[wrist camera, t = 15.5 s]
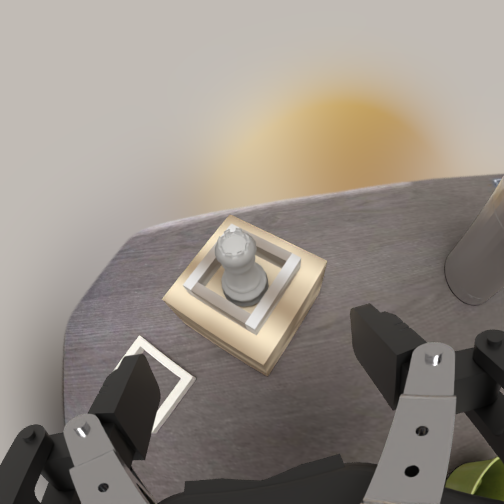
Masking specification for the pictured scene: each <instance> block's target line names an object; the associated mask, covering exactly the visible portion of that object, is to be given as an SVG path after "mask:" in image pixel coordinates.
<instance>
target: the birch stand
mask: <svg viewBox="0 0 504 504" xmlns="http://www.w3.org/2000/svg"><path fill="white" fill-rule="evenodd" d="M236 228H238V229H242V232H245V233H248V234H249V235H250V236H252V237H253V239H254V241H255V242H256V248H257V250H256V253H255V262H256V263H258V264H259V265H260V266H262V268H263V269H264V271H265V272H266V274H267V278H268V284H269V287H268V290H267V292H266V293H265V295H264V296H263V297H262V299H261V300H260V302H258V303H256V304H254V305H252V306H245V307H241V306H238V305H235V304H233V303H231V302H230V301H228V300H227V299H226V297H225V295H224V293H223V289H222V282H221V279H222V276H223V273H224V271H225V269H224V268H223V266H222V264H221V263H220V262H218V260H217V258H216V256H215V246H216V244H217V240H218V238H219V236H220V237H222V236H224V231H226V230H228V229H230V232H235V230H236ZM326 264H327V261H326V260H324V259H322V258H320V257H318V256H316V255H314V254H312V253H309V252H307V251H305V250H303V249H301V248H299V247H297V246H295V245H293V244H291V243H289V242H287V241H285V240H283V239H281V238H278V237H276V236H274V235H272V234H270V233H268V232H266V231H264V230H262V229H260V228H258V227H255V226H253V225H251V224H249V223H247V222H245V221H243V220H241V219H238V218H236V217H234V216H232V215H229V216H228V217H227V219H226V220H225V221H224V222H223V223H222V225H221V226H220V227H219V228H218V229H217V231H216V232H215V233H214V234H213V236H212V237H211V238H210V239H209V241H208V242H207V243H206V244H205V245H204V247H203V248H202V249H201V250H200V252H199V253H198V254H197V255H196V257H195V258H194V259H193V260H192V262H191V263H190V264H189V265H188V267H187V268H186V269H185V270H184V272H183V273H182V274H181V276H180V277H179V278H178V279H177V281H176V282H175V283H174V285H173V286H172V287H171V288H170V290H169V291H168V292H167V294H166V295H165V296H164V297H163V301H164V302H165V303H166V304H167V305H168V306H169V307H170V308H171V309H172V310H173V311H174V313H175V314H176V315H177V316H178V317H179V318H180V319H181V320H182V321H183V322H184V323H185V324H186V325H188V326H189V327H190V328H192V329H193V330H195V331H196V332H198V333H199V334H201V335H202V336H204V337H205V338H207V339H208V340H210V341H211V342H213V343H214V344H216V345H217V346H219V347H220V348H222V349H223V350H225V351H227V352H228V353H230V354H231V355H233V356H234V357H236V358H238V359H239V360H241V361H242V362H244V363H246V364H247V365H249V366H251V367H252V368H254V369H256V370H257V371H259V372H260V373H262V374H264V375H266V376H267V377H268V375H269V374H270V372H271V371H272V369H273V368H274V366H275V365H276V363H277V362H278V360H279V359H280V357H281V355H282V354H283V352H284V351H285V349H286V348H287V346H288V344H289V343H290V341H291V340H292V338H293V336H294V335H295V333H296V331H297V330H298V328H299V327H300V325H301V323H302V322H303V320H304V318H305V317H306V315H307V313H308V312H309V310H310V308H311V306H312V305H313V303H314V301H315V300H316V298H317V296H318V294H319V292H320V289H321V285H322V281H323V277H324V273H325V268H326Z"/></svg>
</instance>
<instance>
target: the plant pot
mask: <svg viewBox="0 0 504 504" xmlns="http://www.w3.org/2000/svg"><path fill="white" fill-rule="evenodd" d="M445 487H447V488H450V489H454V490H457V491H461V492H465V493H469V494H473V495H477V496H482V497H486V498H491V499H496V500H501V501H504V464H503V462H502V461H501V460H500V458H499V457H498V456H497V457H496V458H494V459H491V460H485V461H478V462H471V463H466V464H463V465H461V466H459V467H458V468H457V469H455V470H454V471H453V472H452V474H451V475H450V476H449V478H448V479H447V481H446V485H445Z"/></svg>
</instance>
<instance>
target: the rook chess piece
mask: <svg viewBox="0 0 504 504" xmlns="http://www.w3.org/2000/svg"><path fill="white" fill-rule="evenodd" d="M256 250H257V248H256V242H255V241H254V239H253V237H252V236H250V235H249V234H248V233H245V232H242V229H238V228H236V230H235V232H230V229H228V230H226V231H224V236H222V237H220V236H219V238H218V240H217V244H216V246H215V256H216V258H217V260H218V262H220V263H221V264H222V266H223V268H224V269H225V271H224V273H223V276H222V279H221V282H222V289H223V293H224V295H225V297H226V299H227V300H228V301H230V302H231V303H233V304H235V305H238V306H241V307H245V306H252V305H254V304H256V303H258V302H260V300H261V299H262V297H263V296H264V295H265V293H266V292H267V290H268V287H269V284H268V278H267V274H266V272H265V271H264V269H263V268H262V266H260V265H259V264H258V263H256V262H255V253H256Z"/></svg>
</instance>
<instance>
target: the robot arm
mask: <svg viewBox="0 0 504 504" xmlns="http://www.w3.org/2000/svg"><path fill="white" fill-rule="evenodd" d="M445 275H446V279H447V282H448V284H449V286H450V288H451V290H452V291H453V293H454V294H455V295H456V296H457V297H458V298H459V299H460V300H462V301H463V302H465V303H467V304H470V305H480V304H483V303H484V302H486V301H487V300H488V299H489V298H491V297H492V296H493V295H494V294H496V293H497V292H498V291H500V290H501V289H502V288H503V287H504V176H503V178H502V179H501V181H500V183H499V184H498V186H497V187H496V189H495V191H494V192H493V194H492V195H491V197H490V199H489V200H488V202H487V203H486V205H485V206H484V208H483V209H482V211H481V212H480V213H479V215H478V216H477V218H476V219H475V221H474V222H473V223H472V225H471V226H470V228H469V229H468V230H467V232H466V233H465V235H464V236H463V237H462V238H461V240H460V241H459V242H458V244H457V245H456V246H455V248H454V249H453V250H452V251H451V253H450V254H449V255H448V257H447V259H446V263H445ZM350 318H351V330H352V344H353V349H354V353H355V355H356V357H357V359H358V361H359V362H360V363H361V365H362V366H363V368H364V369H365V371H366V372H367V373H368V375H369V376H370V378H371V379H372V381H373V382H374V384H375V385H376V386H377V388H378V389H379V391H380V392H381V394H382V395H383V397H384V398H385V400H386V401H387V402H388V404H389V405H390V407H391V408H392V410H395V409H396V412H395V416H394V419H393V422H392V426H391V429H390V432H389V435H388V438H387V441H386V444H385V447H384V449H383V452H382V455H381V458H380V460H379V463H378V465H377V464H371V463H360V462H357V463H343V461H342V458H341V456H340V454H337V455H334V456H331V457H327V458H324V459H320V460H317V461H313V462H309V463H305V464H301V465H299V466H297V467H295V468H292V469H290V470H288V471H285V472H283V473H281V474H278V475H276V476H273V477H271V478H268V479H266V480H261V481H254V480H235V479H212V480H200V481H185V489H184V492H181V493H178V494H175V495H173V496H170V497H168V498H166V499H164V500H162V501H161V502H159V503H158V502H157V500H156V499H155V498H154V497H153V495H152V494H151V493H150V491H149V490H148V488H147V487H146V486H145V484H144V483H143V481H142V480H141V479H140V477H139V476H138V474H137V473H136V471H135V470H134V468H133V467H132V466H131V464H132V461H133V460H145V458H146V454H147V449H148V445H149V441H150V437H151V433H152V429H153V425H154V421H155V418H156V414H157V410H158V406H159V402H160V389H159V386H158V384H157V381H156V379H155V377H154V375H153V373H152V370H151V368H150V366H149V363H148V361H147V359H146V357H145V356H144V355H143V354H137V355H129V356H124V358H123V359H122V361H121V363H120V365H119V367H118V369H115V370H114V371H113V372H112V373H111V374H110V375H109V376H108V377H107V378H106V380H105V382H104V383H103V387H101V389H100V391H99V394H98V395H97V397H96V398H95V400H94V402H93V404H92V406H91V408H90V410H89V412H88V414H82V415H79V416H76V417H74V418H73V419H71V420H70V421H69V422H68V423H67V424H66V426H65V428H64V432H63V433H58V434H53V435H49V434H48V433H47V432H46V430H45V429H44V428H43V426H41V425H30V426H28V427H26V428H24V429H23V430H22V431H21V432H20V433H19V434H18V435H17V437H16V438H15V440H14V442H13V443H12V445H11V447H10V449H9V451H8V452H7V454H6V456H5V458H4V459H3V461H2V463H1V465H0V504H81V503H82V504H504V501H501V500H496V499H491V498H486V497H482V496H477V495H473V494H469V493H465V492H461V491H457V490H454V489H450V488H447V487H444V484H445V480H446V475H447V470H448V464H449V458H450V452H451V446H452V438H453V430H454V421H455V414H458V413H462V412H464V413H465V414H466V415H467V416H468V418H469V419H470V420H471V421H472V423H473V424H474V425H475V427H476V428H477V429H478V430H479V432H480V433H481V434H482V436H483V437H484V438H485V440H486V441H487V442H488V444H489V445H490V446H491V448H492V449H493V450H494V452H495V453H496V454H497V456H498V457H499V458H500V460H501V461H502V462H503V464H504V395H503V394H502V393H501V392H500V388H501V387H502V388H503V389H504V332H503V331H500V330H487V331H484V332H482V333H480V334H479V335H478V336H477V337H476V339H475V345H474V348H470V349H465V350H461V351H455V352H454V350H453V349H452V348H451V347H450V346H449V345H447V344H444V343H440V342H430V343H427V342H426V341H425V340H424V339H423V338H421V337H420V336H419V335H418V334H417V333H416V332H415V331H413V330H412V329H411V328H409V326H408V325H407V324H405V323H403V321H402V320H401V319H400V318H398V317H397V316H396V315H394V314H391V313H388V312H382V313H380V312H379V311H378V310H377V309H376V308H375V307H374V306H372V305H371V304H370V303H369V304H365V305H362V306H359V307H355V308H352V309H351V311H350ZM40 474H41V475H42V476H43V477H44V478H45V479H46V480H47V481H48V482H49V483H48V486H47V488H46V491H45V494H44V496H43V499H42V502H41V503H40V502H39V501H38V500H37V498H36V496H35V492H34V490H35V486H36V483H37V481H38V479H39V476H40Z"/></svg>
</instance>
